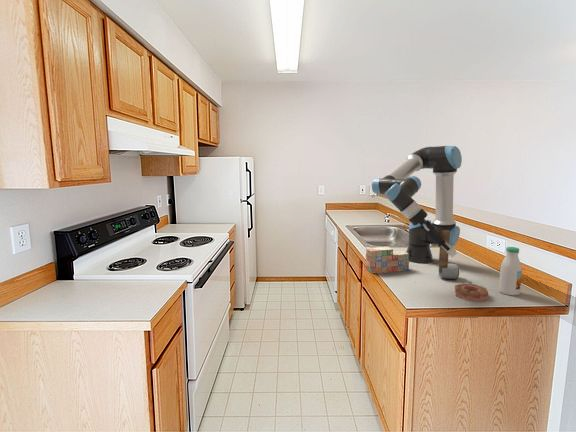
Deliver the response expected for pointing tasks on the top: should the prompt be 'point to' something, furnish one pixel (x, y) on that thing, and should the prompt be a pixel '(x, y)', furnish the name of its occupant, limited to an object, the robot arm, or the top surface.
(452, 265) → the ceramic mug
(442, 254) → the dowel
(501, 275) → the milk bottle
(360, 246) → the top surface
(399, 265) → the stack of blocks
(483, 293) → the terracotta faceted ring
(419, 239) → the robot arm
